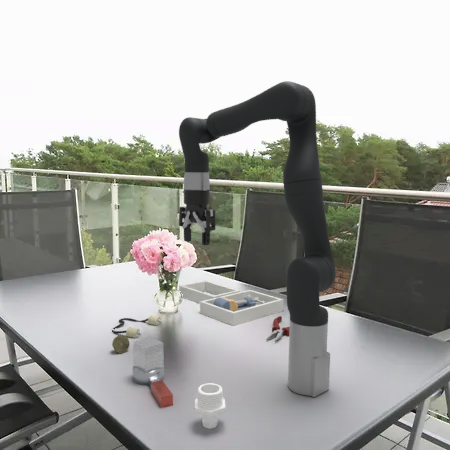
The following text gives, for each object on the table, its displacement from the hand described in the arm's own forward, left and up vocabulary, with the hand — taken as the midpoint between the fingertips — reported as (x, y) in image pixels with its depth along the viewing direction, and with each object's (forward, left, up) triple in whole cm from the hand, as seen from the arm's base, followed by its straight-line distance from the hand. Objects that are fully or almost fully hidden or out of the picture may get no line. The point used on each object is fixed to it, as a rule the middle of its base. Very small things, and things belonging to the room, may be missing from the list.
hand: (196, 243), depth 134 cm
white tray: (+16, -35, -32) cm, 50 cm away
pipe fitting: (-35, +24, -32) cm, 53 cm away
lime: (+12, +19, -32) cm, 39 cm away
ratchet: (-14, +24, -32) cm, 42 cm away
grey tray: (+38, -37, -32) cm, 62 cm away
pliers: (-7, -31, -33) cm, 46 cm away
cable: (+27, +6, -33) cm, 43 cm away
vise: (+16, -32, -32) cm, 48 cm away
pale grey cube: (-8, +22, -29) cm, 37 cm away
